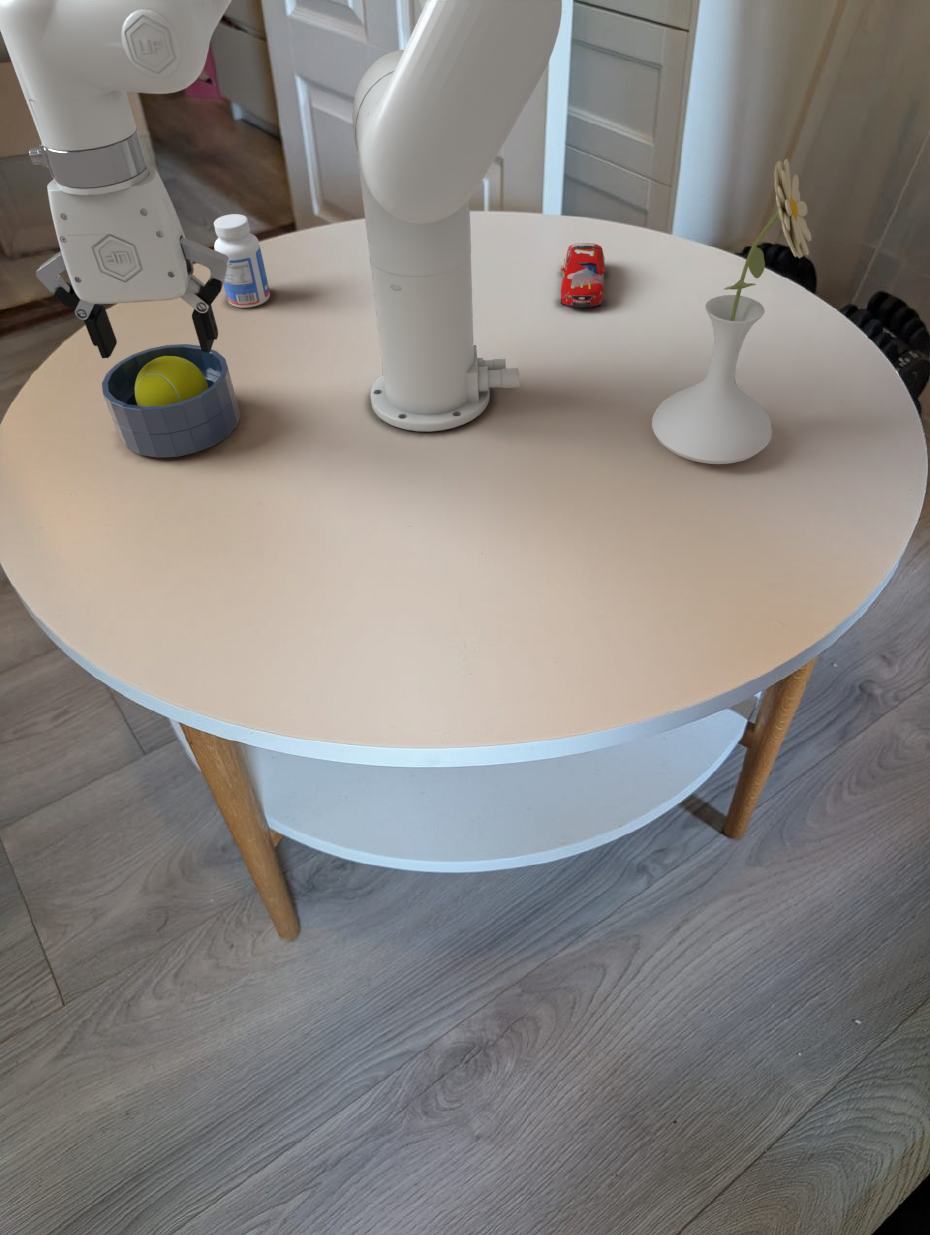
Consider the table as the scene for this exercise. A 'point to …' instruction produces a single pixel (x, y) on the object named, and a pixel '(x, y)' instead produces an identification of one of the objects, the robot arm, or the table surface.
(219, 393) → the blue round bowl
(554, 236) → the table surface
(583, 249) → the race car
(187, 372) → the tennis ball
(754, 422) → the flower in vase
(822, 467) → the table surface
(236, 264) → the pill bottle
